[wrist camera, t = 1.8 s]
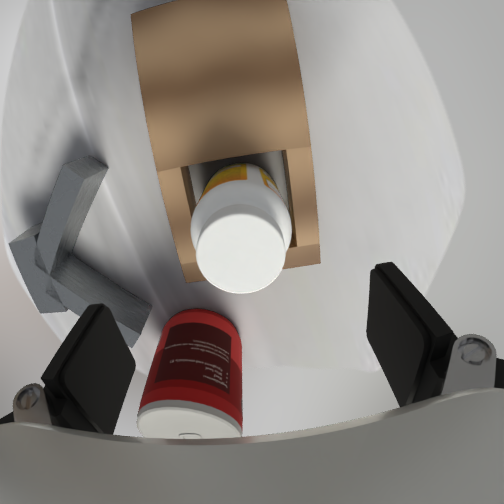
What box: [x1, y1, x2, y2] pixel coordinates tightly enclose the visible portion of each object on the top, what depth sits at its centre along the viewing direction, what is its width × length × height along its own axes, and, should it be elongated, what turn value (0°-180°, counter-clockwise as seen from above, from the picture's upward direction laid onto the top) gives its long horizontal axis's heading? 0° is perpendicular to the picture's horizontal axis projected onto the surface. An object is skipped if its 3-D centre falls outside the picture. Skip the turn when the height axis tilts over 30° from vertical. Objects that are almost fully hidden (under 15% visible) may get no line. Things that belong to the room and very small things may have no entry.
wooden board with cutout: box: [131, 0, 321, 283], centre depth 18 cm, size 20×10×2 cm, turn 9°
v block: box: [9, 156, 152, 348], centre depth 21 cm, size 10×16×4 cm, turn 9°
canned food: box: [137, 309, 243, 439], centre depth 23 cm, size 8×8×11 cm
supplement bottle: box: [191, 163, 292, 294], centre depth 17 cm, size 5×5×10 cm
